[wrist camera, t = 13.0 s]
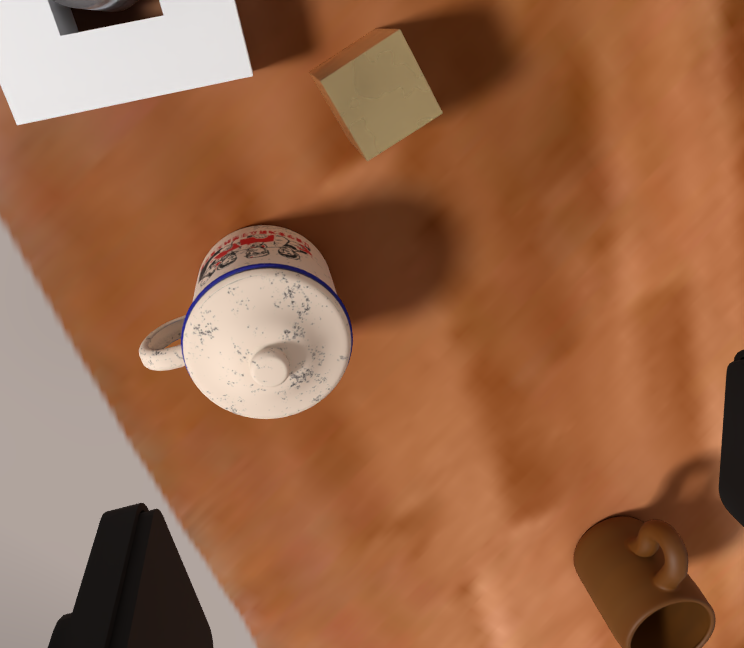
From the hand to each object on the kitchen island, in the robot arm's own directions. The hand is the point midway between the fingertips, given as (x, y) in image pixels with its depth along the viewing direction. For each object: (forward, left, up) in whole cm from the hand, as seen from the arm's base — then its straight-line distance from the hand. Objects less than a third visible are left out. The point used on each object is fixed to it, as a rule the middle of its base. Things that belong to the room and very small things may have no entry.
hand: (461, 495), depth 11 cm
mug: (-19, +37, -32) cm, 53 cm away
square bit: (-4, -3, -32) cm, 33 cm away
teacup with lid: (+6, +8, -32) cm, 34 cm away
